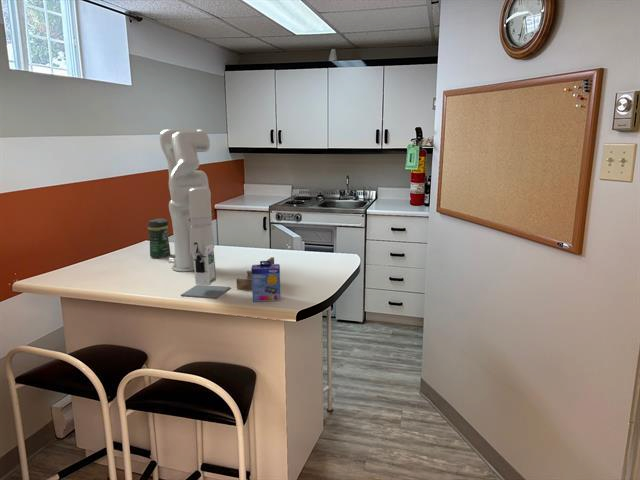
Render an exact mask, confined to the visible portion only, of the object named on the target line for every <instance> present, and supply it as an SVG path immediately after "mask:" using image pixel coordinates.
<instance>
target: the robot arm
mask: <svg viewBox="0 0 640 480" xmlns="http://www.w3.org/2000/svg"><path fill="white" fill-rule="evenodd" d="M159 143H160V146H161V149H162V151H163V154H164V156H165V159H166V161H167V168H168V189H169V194H170V200H169V202H168V210H169V214H170V218H171V219H170V220H171V225H172V233H173V234H172V235H173V242H174V243H173V245H174V257H169V258H168V264H173V265H172V270H173V271H175V272H192V271H195V270H194V261H195V264H196V272H197V273H204V272H205V267H204V262H203V254H204V253H205V247H206V246H208V245H210V244H213V248H215V240H214V233H213V227H212V226H213V219H212V218H213V217H212V216H213V215H212V202H211V198H212V193H211V190H210V185H209V178H208V176H207V174H206V172H205V171H203V170H198V169H199V167H200V160H199V156H198V153H206V152H209V150H210V145H211V144H210V143H211V141H210V137H209V136H208V134H207V131H205V130H203V129H200V128H168V129H163V130H162V131H161V132H160V133H159ZM197 252H200V253H197ZM198 255H201V257H199V256H198ZM193 258H194V260H193Z"/></svg>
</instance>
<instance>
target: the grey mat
mask: <svg viewBox="0 0 640 480" xmlns="http://www.w3.org/2000/svg"><path fill="white" fill-rule="evenodd" d="M230 289H231V286H224V285H223V286H221V285H198V284H195V285H194V286H193V287H191V288H190V289H188V290H186V291H185V292H183V293H181V294H180V296H181V297H191V298H201V299H202V298H204V299H216V300H217V299H218V298H220V296H222V295H223V294H225V293H226V292H227V291H229V290H230Z"/></svg>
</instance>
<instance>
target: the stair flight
mask: <svg viewBox="0 0 640 480" xmlns="http://www.w3.org/2000/svg"><path fill="white" fill-rule="evenodd" d="M266 261H270V262H271V264H275V257H274V256H273V257H270V258H269V259H267V260H266ZM262 264H269V263H267V262H264V263H262ZM236 290H242V291H243V290H245V291H252V272H251V270H247V271H246V278H243V277H242V278H240V277H237V278H236Z"/></svg>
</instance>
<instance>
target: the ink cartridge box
mask: <svg viewBox="0 0 640 480" xmlns="http://www.w3.org/2000/svg"><path fill="white" fill-rule="evenodd" d="M264 262H267V263H269V264H263V263H264ZM280 267H281V265H280V264H279V263H274V264H271V262H270V261H267V260H259V264H252V265H251V270H250V271H251V272H252V290H251V291H252V292H251V293H252V302H253V303H254V302H255V303H257V302H259V303H260V302H280V301H281V298H282V297H281V296H282V294H281V293H282V291H281V270H280V269H281V268H280ZM279 300H280V301H279Z"/></svg>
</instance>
